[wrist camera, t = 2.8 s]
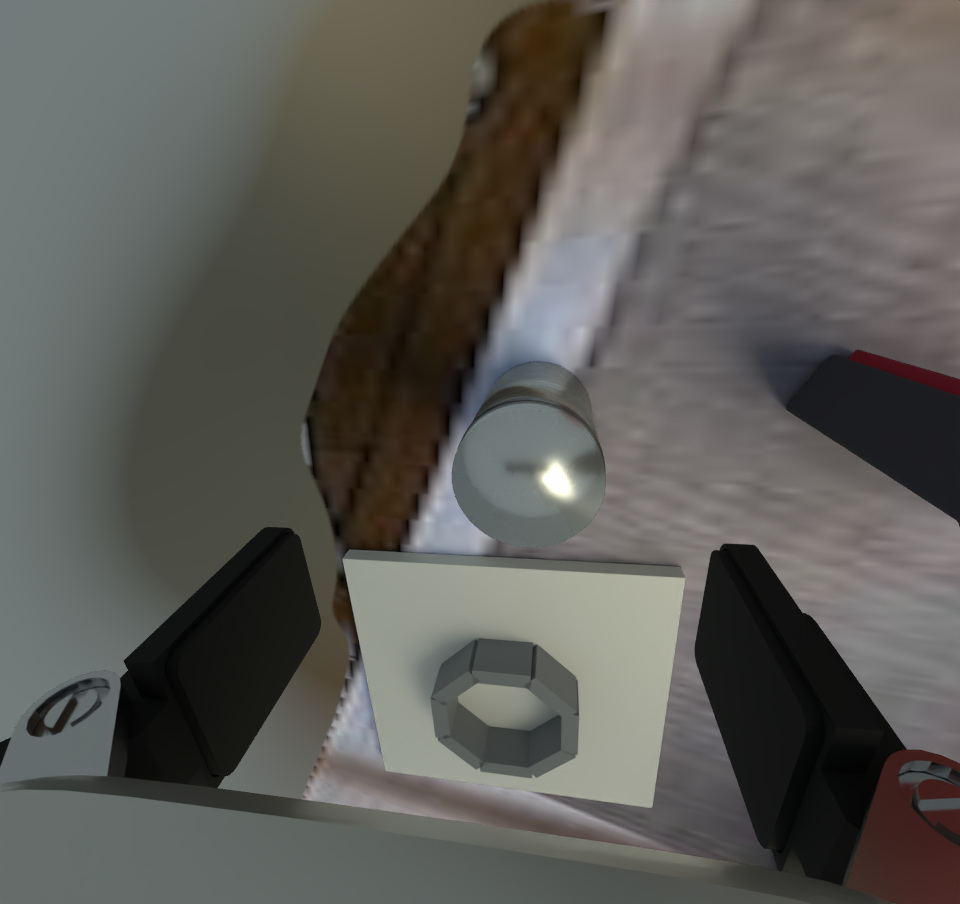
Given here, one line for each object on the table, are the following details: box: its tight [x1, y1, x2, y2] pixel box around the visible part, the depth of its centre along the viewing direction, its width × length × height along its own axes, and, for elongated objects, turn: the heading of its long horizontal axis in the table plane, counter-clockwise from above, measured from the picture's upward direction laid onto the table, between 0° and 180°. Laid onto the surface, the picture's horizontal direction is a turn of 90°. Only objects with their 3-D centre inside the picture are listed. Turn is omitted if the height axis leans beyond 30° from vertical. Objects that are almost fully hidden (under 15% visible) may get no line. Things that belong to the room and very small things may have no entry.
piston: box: [452, 362, 606, 547], centre depth 20 cm, size 6×6×8 cm
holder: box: [343, 549, 685, 808], centre depth 29 cm, size 20×20×4 cm
